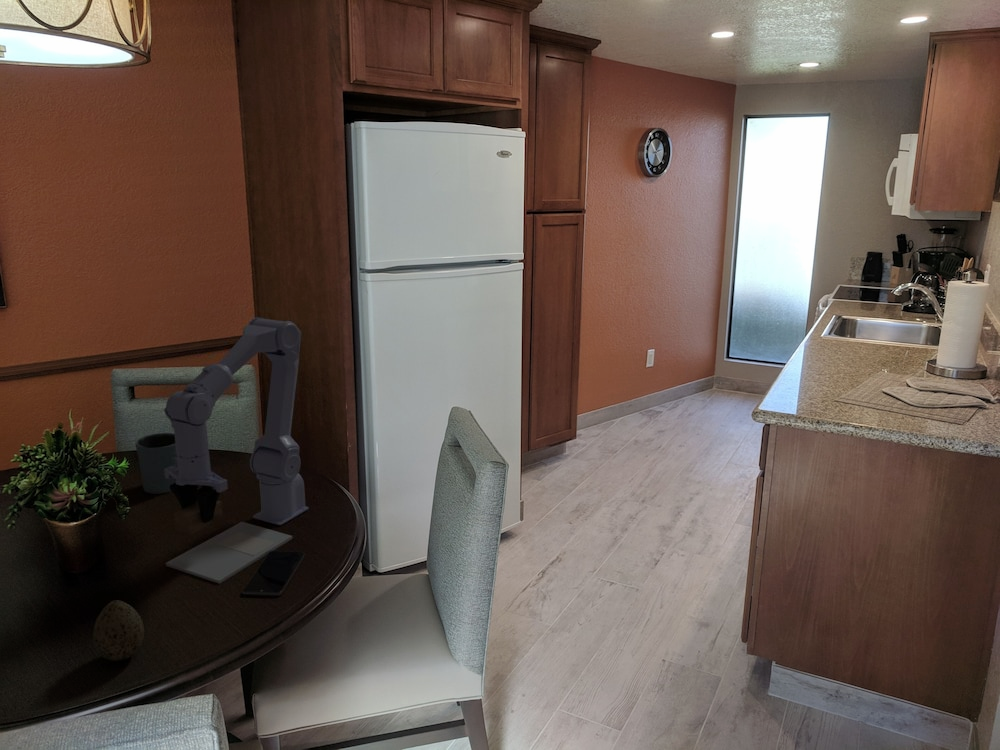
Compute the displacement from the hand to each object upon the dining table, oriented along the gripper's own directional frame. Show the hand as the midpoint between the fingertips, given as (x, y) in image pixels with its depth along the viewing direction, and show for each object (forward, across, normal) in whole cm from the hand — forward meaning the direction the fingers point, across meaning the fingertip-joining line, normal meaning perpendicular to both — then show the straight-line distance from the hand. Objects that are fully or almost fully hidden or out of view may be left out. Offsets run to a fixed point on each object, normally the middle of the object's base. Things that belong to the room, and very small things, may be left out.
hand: (199, 518), depth 147 cm
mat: (+9, +3, +4) cm, 10 cm away
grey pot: (+9, -35, +20) cm, 42 cm away
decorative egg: (+9, +13, -28) cm, 33 cm away
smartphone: (+9, +16, +2) cm, 19 cm away
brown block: (+1, 0, 0) cm, 1 cm away
